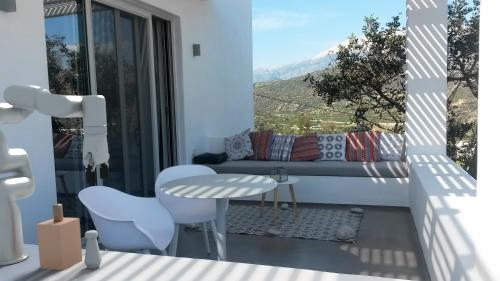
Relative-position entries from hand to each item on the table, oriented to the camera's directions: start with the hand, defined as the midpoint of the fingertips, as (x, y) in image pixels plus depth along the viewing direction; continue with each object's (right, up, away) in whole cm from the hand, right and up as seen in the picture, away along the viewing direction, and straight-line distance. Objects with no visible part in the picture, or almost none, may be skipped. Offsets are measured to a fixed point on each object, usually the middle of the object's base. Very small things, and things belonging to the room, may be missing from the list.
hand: (98, 180), depth 152 cm
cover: (-16, -31, +8) cm, 36 cm away
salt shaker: (-3, -31, +4) cm, 31 cm away
